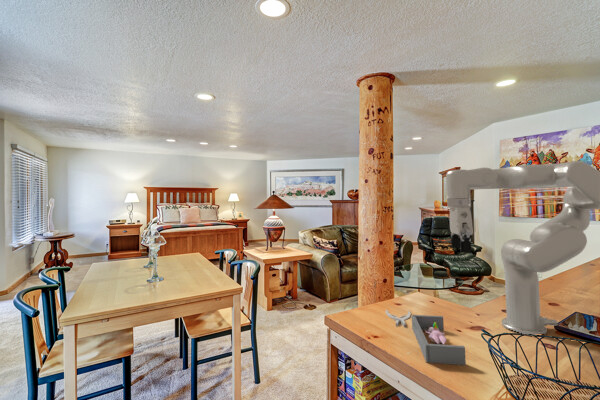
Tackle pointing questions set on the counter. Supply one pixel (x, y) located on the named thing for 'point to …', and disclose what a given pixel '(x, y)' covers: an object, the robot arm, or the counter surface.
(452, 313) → the counter surface
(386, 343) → the counter surface
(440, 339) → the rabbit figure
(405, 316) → the pliers
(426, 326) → the box
